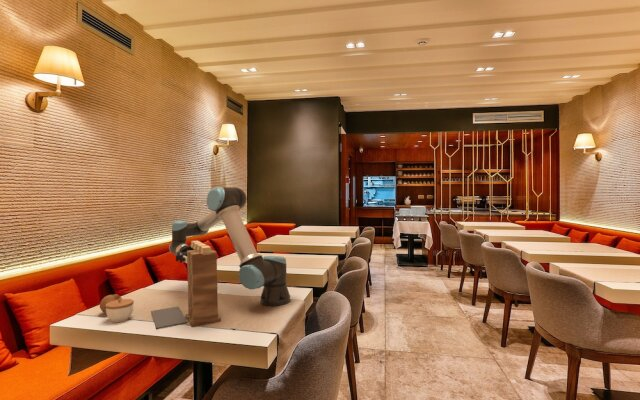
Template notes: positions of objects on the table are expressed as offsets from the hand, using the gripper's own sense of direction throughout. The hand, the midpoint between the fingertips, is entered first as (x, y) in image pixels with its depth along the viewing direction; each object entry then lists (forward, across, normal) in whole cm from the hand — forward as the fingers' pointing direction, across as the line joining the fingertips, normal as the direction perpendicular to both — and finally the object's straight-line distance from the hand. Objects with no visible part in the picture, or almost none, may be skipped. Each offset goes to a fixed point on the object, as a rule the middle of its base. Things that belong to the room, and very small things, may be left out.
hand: (202, 259), depth 165 cm
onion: (-19, +34, -26) cm, 47 cm away
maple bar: (+14, +8, +8) cm, 17 cm away
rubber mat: (+5, +17, -23) cm, 29 cm away
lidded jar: (-7, +33, -25) cm, 42 cm away
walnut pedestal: (+19, +7, -22) cm, 30 cm away
